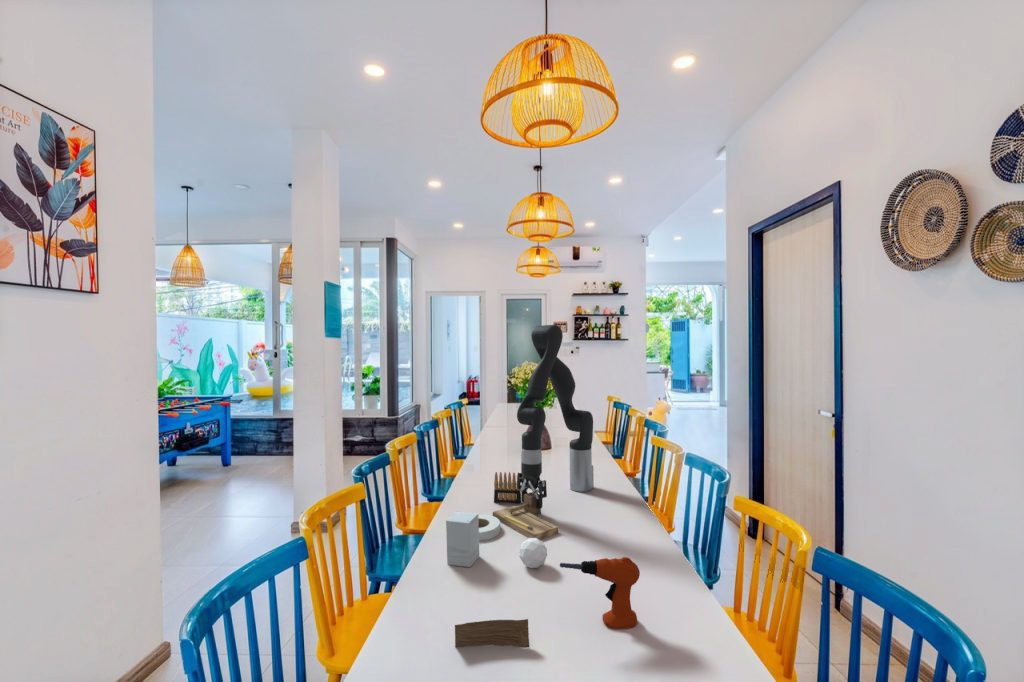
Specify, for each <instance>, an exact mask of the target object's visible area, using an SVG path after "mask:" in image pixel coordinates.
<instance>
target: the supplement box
mask: <svg viewBox="0 0 1024 682" xmlns="http://www.w3.org/2000/svg"><path fill="white" fill-rule="evenodd" d="M478 514H479V513H474V512H463V511H456V512H454V513H453V514H452V515H451V516H450V517H449V518H447V519H446V521H445V523H446V525H445V527H446V529H445V530H446V562H447V565H452V566H457V567H458V566H459V567H464V568H472V566H473V564H474V563H475V562H476V561H477V560H478V559H479V558H480V540H479V528H480V527H479V519H478Z"/></svg>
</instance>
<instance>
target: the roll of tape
mask: <svg viewBox="0 0 1024 682" xmlns="http://www.w3.org/2000/svg"><path fill="white" fill-rule="evenodd" d="M477 514H478V519H479V526H481V527H479V541H485V540H489V539H492V538H495V537H496V536H498V534H500V532H501V522H500V521H499V519H498V518H496V517H494V516H493V515H490V514H480V513H477Z"/></svg>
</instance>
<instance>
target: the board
mask: <svg viewBox="0 0 1024 682" xmlns="http://www.w3.org/2000/svg"><path fill="white" fill-rule="evenodd" d="M513 507H516V505H512V506H508V507H506V508H502V509H498V510H494V511H492V516H494V517H496V518H498V519H499V521H500V524H504V525H505V526H506V527H509V528H510V529H512V530H514V531H516V532H518V533H519V534H522V535H523V536H524V537H526V538H527V539H529V538H537V539H539V540H542V539H544V538H548V537H551V536H554V535H556V534H559V526H557V525H555V524H554V523H551V522H550V521H547V520H545V519H542V518H541V517H539V516H538V515H537V516H535V515H533V514H531V513H529V512H527V511H525V510H524V509H521V510H517V511H514V512H512V514H511V512H509V508H513ZM505 515H507V516H509V517H511V518H513V519H516V520H518V521H520V522H522V523H525V524H527V525H529V526H531V527H533V530H529V529H527V528H525V527H523V526H520V525H518V524H516V523H514V522H512V521H509V520H507V519H505V518H504V516H505Z"/></svg>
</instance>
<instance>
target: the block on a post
mask: <svg viewBox="0 0 1024 682" xmlns="http://www.w3.org/2000/svg"><path fill="white" fill-rule="evenodd" d="M538 495H539V493H538ZM515 506H516V505H515ZM521 509H523V510H525V511H527V512H529V513H531V514H533V515H535V516H537V517H538V516H540V515H542V508H541V509H537V508H536V496H535V493H533V491H531V492H528V493H527V494H524V503H523V504H519V505H517V506H516V507H513V508H509V512H511V514H512V512H514V511H517V510H521Z"/></svg>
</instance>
